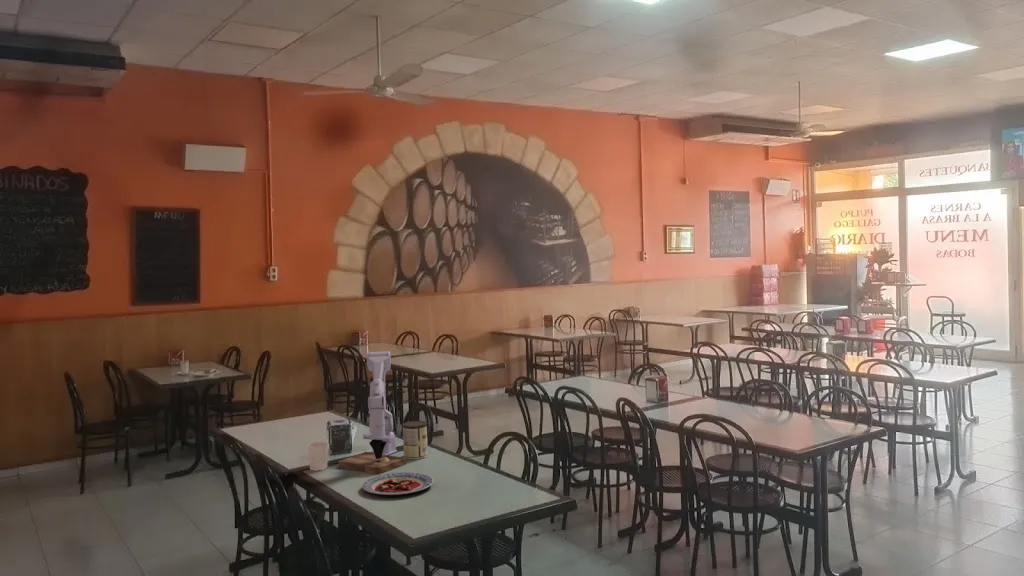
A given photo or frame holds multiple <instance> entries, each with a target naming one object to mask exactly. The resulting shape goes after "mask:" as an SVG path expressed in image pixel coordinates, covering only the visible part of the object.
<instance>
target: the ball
mask: <svg viewBox="0 0 1024 576" xmlns="http://www.w3.org/2000/svg"><path fill="white" fill-rule="evenodd" d="M387 462H390V460H389V459H388V458H386V457H384V458H382V459H381V460H380V463H383V464H384V463H387Z"/></svg>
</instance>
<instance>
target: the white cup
mask: <svg viewBox="0 0 1024 576" xmlns="http://www.w3.org/2000/svg"><path fill="white" fill-rule="evenodd" d="M307 451H308V452H307V455H308V463H309V469H310V471H313V472H317V471H318V472H320V471H325V470H327V469H328V459H329V457H328V456H329V443H328V442H326V441H315V442H309V443H308V444H307ZM319 470H320V471H319Z"/></svg>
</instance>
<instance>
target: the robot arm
mask: <svg viewBox="0 0 1024 576" xmlns="http://www.w3.org/2000/svg"><path fill="white" fill-rule="evenodd" d="M391 356H392V354H391V352H390V351H389V350H387V351H368V352H367V353H366V366H367V369H368V370H369V371H370V372H372V381H371V382H370V385H369V386H370V387H369V396H368V398H367V403H368V404H367V405H368V406H367V408H368V414H369V421H368V423H369V426H368V428H369V433H367V432H366V433H363V434H362V440H371V441H368V443H369V445H370V448H372V449H371V450H372V451H373V452H371V453H374V454H375V457H376V459H380V458H382V454H383V455H391V454H394V453H397V452H398V450H397V444H396V436H395V433H394V432H393V431H394V419H393V414H392V412H390V411H389V410H387V406H386V404H387V402H386V401H387V400H386V399H387V398H386V374H387V372H389V371H390V370H391V363H392V362H391V361H392V360H391Z"/></svg>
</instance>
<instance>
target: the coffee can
mask: <svg viewBox="0 0 1024 576" xmlns="http://www.w3.org/2000/svg"><path fill="white" fill-rule="evenodd" d="M427 425H428V422H427V421H424V420H412V421H405V422H403V423H402V440H403V442H402V444H403V445H402V446H403V458H406V460H413V461H414V460H415V461H416V460H421V459H426V458H427V457H428V456H429V452H428V449H429V448H428V446H429V445H428V426H427Z"/></svg>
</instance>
